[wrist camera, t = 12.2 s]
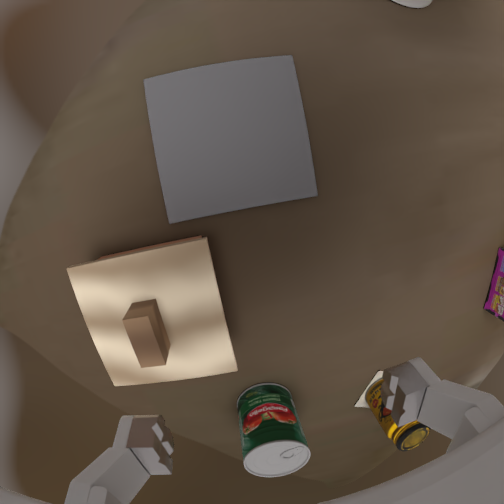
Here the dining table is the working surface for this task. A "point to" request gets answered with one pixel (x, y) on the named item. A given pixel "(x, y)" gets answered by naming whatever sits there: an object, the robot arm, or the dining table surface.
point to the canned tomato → (271, 431)
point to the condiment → (402, 435)
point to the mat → (230, 137)
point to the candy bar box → (497, 288)
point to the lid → (156, 313)
